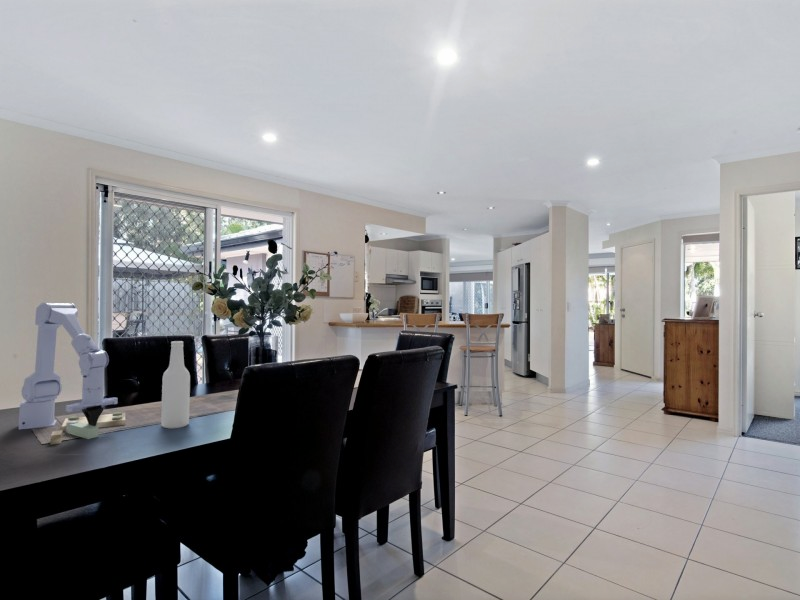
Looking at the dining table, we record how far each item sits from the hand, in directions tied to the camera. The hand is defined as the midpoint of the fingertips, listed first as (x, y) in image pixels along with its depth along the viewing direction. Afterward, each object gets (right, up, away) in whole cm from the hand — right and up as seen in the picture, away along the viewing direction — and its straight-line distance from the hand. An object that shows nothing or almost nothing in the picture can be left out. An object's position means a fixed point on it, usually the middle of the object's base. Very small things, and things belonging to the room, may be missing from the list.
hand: (92, 429), depth 142 cm
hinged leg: (-3, -1, -1) cm, 3 cm away
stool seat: (-4, -2, +5) cm, 7 cm away
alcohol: (+21, -2, +12) cm, 24 cm away
